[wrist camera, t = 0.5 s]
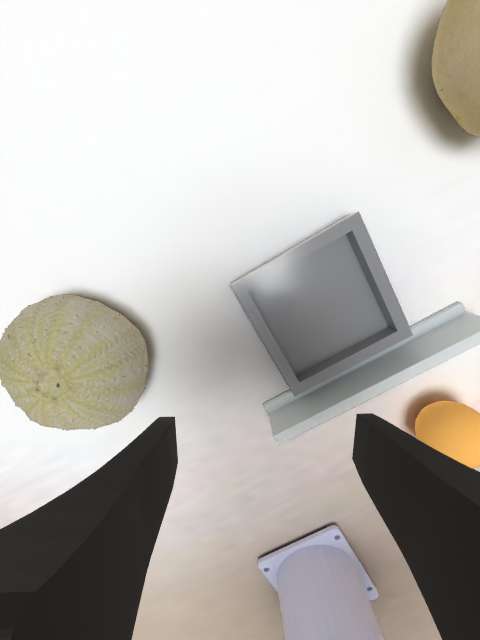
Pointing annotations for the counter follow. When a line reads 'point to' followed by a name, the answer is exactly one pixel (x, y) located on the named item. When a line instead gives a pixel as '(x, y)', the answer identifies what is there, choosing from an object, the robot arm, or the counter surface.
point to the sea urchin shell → (73, 363)
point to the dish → (323, 305)
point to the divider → (376, 373)
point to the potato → (459, 62)
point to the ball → (451, 431)
